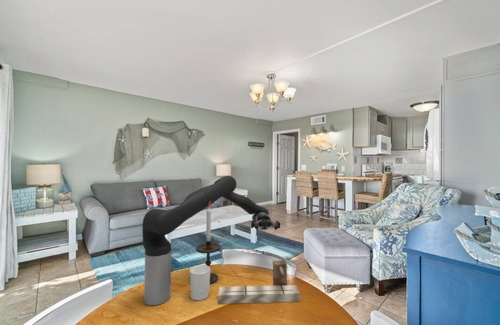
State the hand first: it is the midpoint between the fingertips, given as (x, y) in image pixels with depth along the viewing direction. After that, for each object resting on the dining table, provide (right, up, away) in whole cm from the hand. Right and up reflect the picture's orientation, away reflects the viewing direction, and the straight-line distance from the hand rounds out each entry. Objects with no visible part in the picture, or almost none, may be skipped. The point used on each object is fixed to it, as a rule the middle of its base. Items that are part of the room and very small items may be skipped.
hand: (266, 227), depth 102 cm
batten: (-4, -22, -18) cm, 28 cm away
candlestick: (-26, -22, -3) cm, 35 cm away
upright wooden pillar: (+4, -22, -14) cm, 26 cm away
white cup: (-27, -22, -16) cm, 38 cm away
